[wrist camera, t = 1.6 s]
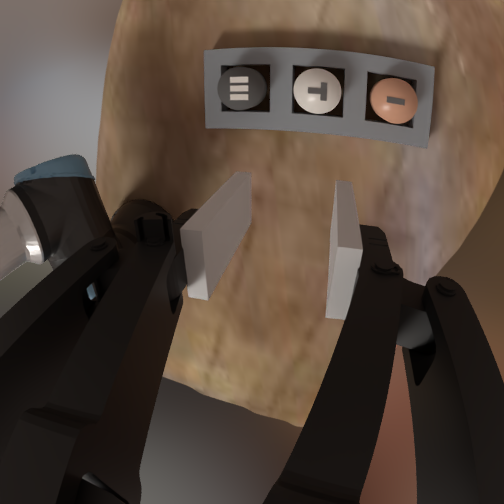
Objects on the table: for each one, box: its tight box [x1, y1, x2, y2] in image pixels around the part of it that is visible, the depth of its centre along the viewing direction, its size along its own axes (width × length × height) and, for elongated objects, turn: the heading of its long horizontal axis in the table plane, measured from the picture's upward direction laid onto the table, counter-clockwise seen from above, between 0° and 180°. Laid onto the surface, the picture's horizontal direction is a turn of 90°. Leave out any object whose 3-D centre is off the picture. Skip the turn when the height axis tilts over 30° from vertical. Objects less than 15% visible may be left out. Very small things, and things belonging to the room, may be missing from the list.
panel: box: [204, 47, 435, 149], centre depth 39 cm, size 32×12×3 cm, turn 90°
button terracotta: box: [370, 78, 418, 124], centre depth 35 cm, size 6×6×4 cm
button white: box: [293, 68, 341, 114], centre depth 37 cm, size 6×6×4 cm
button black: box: [217, 67, 267, 110], centre depth 39 cm, size 6×6×4 cm
